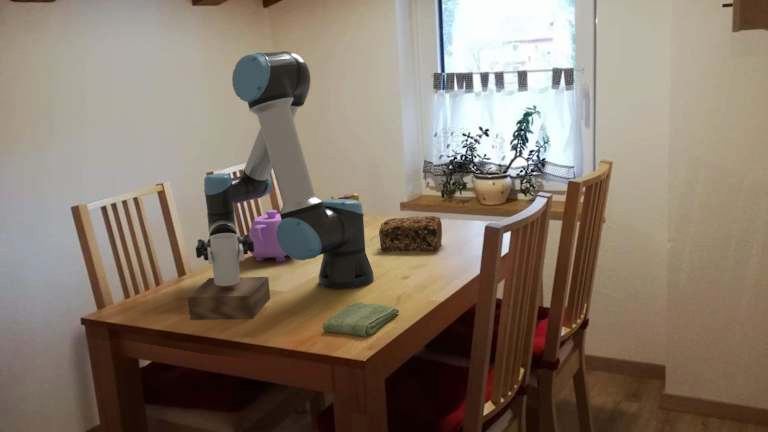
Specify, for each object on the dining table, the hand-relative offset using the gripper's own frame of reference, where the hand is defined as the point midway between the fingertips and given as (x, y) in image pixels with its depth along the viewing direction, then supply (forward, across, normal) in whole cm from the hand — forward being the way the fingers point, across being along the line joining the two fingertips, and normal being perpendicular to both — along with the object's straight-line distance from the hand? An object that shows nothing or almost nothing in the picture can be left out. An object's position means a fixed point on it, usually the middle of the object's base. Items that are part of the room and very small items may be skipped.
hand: (226, 257), depth 197 cm
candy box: (-65, -41, -15) cm, 78 cm away
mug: (-5, 0, -8) cm, 9 cm away
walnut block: (-5, 0, -15) cm, 16 cm away
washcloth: (+18, -29, -16) cm, 38 cm away
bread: (-45, -58, -15) cm, 75 cm away
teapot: (-50, -16, -15) cm, 55 cm away
